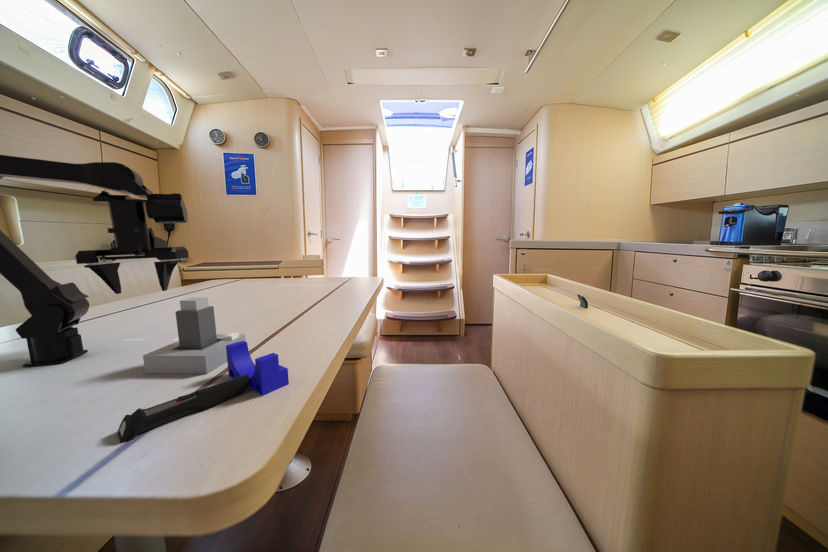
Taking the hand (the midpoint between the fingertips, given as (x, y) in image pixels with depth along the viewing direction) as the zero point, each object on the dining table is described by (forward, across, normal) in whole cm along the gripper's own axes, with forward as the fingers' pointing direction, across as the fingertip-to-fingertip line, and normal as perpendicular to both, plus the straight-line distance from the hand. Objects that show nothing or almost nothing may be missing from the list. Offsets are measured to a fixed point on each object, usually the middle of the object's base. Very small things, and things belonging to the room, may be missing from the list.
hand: (142, 292), depth 67 cm
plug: (+13, -16, +12) cm, 24 cm away
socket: (+13, -16, +12) cm, 24 cm away
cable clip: (+14, -30, +24) cm, 41 cm away
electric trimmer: (+14, -24, +32) cm, 42 cm away
